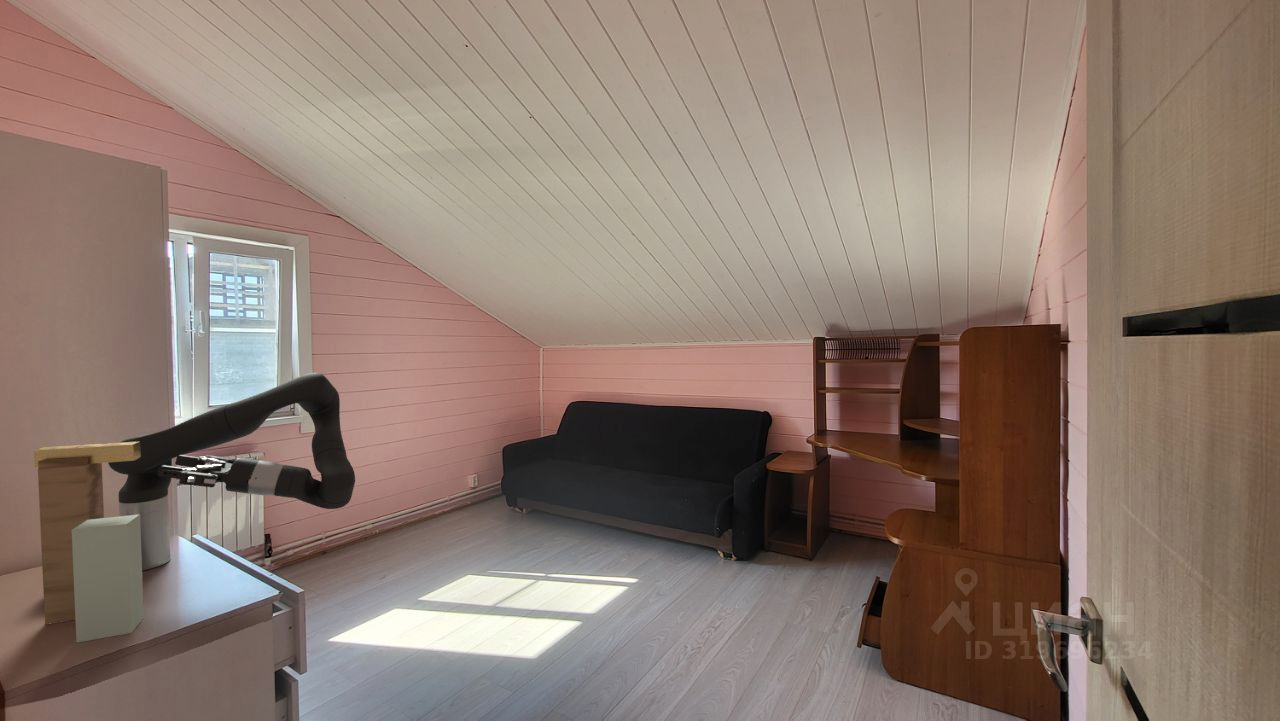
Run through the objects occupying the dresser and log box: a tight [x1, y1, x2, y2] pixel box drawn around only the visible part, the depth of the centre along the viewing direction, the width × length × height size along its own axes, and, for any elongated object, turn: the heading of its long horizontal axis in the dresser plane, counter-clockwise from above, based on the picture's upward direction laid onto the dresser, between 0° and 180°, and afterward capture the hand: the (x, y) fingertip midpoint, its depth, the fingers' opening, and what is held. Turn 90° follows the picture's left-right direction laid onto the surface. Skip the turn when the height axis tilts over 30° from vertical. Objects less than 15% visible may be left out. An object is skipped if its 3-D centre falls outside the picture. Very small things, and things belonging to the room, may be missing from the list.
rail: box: [33, 441, 141, 468], centre depth 112 cm, size 4×15×4 cm, turn 115°
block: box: [72, 514, 145, 644], centre depth 106 cm, size 6×8×22 cm
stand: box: [37, 457, 105, 625], centre depth 112 cm, size 7×7×34 cm
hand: (168, 464), depth 114 cm, fingers open, 8 cm apart
